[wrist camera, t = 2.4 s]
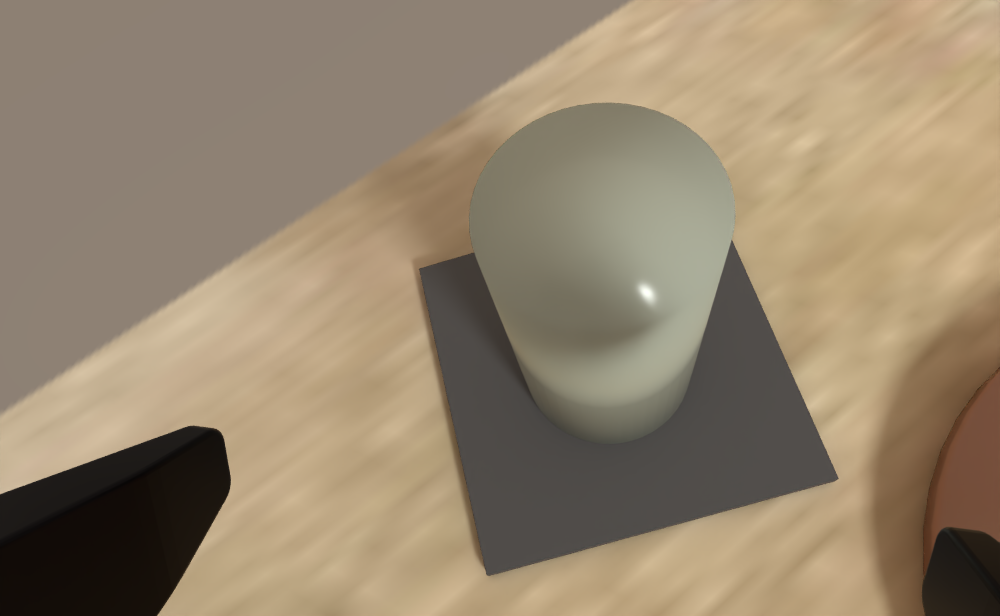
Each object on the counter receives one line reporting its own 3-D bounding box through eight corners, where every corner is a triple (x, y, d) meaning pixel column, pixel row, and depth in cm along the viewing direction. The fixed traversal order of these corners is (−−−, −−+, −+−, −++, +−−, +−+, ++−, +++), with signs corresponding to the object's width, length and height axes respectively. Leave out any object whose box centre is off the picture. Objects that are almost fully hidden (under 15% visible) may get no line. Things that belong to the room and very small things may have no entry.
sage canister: (549, 463, 21) (503, 364, 13) (508, 313, 23) (445, 144, 15) (715, 417, 20) (779, 285, 12) (658, 269, 23) (680, 73, 14)
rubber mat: (489, 575, 20) (486, 574, 20) (422, 273, 24) (419, 268, 24) (834, 481, 20) (838, 478, 19) (705, 190, 24) (707, 184, 24)
